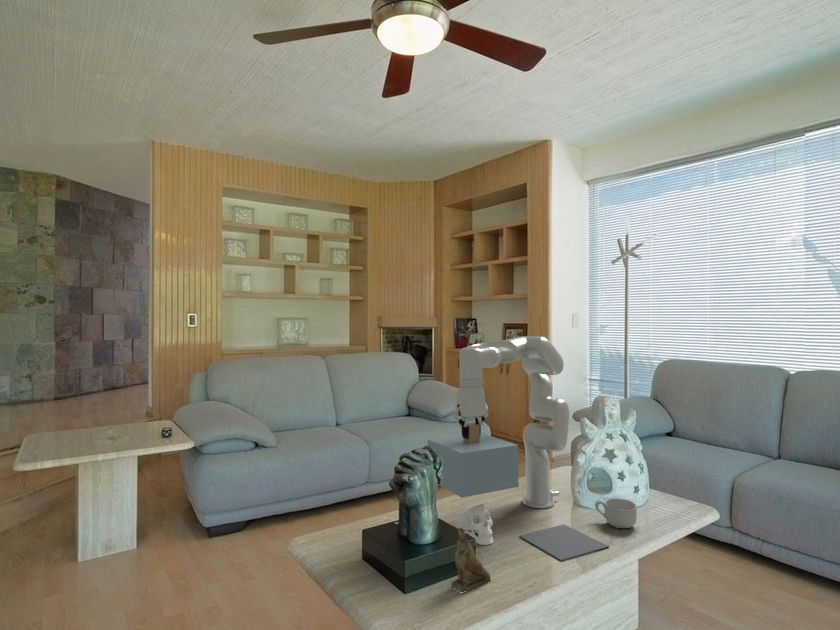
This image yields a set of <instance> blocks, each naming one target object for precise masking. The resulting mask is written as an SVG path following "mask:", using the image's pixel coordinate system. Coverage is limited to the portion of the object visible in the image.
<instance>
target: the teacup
mask: <svg viewBox="0 0 840 630" xmlns="http://www.w3.org/2000/svg"><path fill="white" fill-rule="evenodd" d="M594 505H595V510H596V511H597V512H598V513H600V515H602V516H603V518H604V519H606V522H607V523H608V524H609V525H611V526H612V527H613V526H614V528H615V527H618V528H629V529H630V527H631V528H632V527H633V526H634V525H635V524H636V523H637V515H638V514H637V511H638V510H637V508H638V505H637V503H635V502H633V500H632V501H631V500H629V499H624V498H620V497H619V498H618V497H617V498H615V497H612V498H608V499H605V501H603V500H597V501H596V502H595V504H594ZM599 505H602V506H603V509H604V511H603V510H601V509H600V507H599ZM618 528H617V529H618Z"/></svg>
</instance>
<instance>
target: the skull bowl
mask: <svg viewBox="0 0 840 630" xmlns="http://www.w3.org/2000/svg"><path fill="white" fill-rule="evenodd" d="M454 523H455V525H456V527H457V530H458V529H459V528H462V529H463V531H464V532H465V533H467V534H469V535H471V536H473V537H475V539H476V542H477V543H476V544H478V545H480V546H489V545H492V544H494V538H493V537H494V536H493V530H492V529H491V528H492V526H493V524H494V523H493V520H492V517H491V514H490V512H489V510H488V508H487V507H486V505H485V504H478V505H475V506H473V507H471V508H469V509H467V510H466V511H465V512H463V513H462V514H461V515H459V516H457V518H456V519H455V522H454ZM476 534H477V535H476ZM469 535H468V536H469Z"/></svg>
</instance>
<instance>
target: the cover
mask: <svg viewBox="0 0 840 630" xmlns="http://www.w3.org/2000/svg"><path fill="white" fill-rule="evenodd" d="M467 427H468V428H469V438H468V439H466V438H463V437H462V434H460V435H459V434H458V435H451V436H444V437H434V438H429V439H427V447H428V446H430V447H432V448H433V449H435V450H436V451H438V452H439V453H440V454H441V455H442V458H443V480H442V482H441V483H440V484H439V485H438V486H440V487H442V488H444V489H445V490H446V491H448V492H451V493H453V494H454V495H456V496H458V497H460V498H461V499H462V498H468V497H472V496H479V495H483V494H488V493H494V492H499V491H504V490H508V489H509V490H510V489H514V488H519V445H518V444H516V443H513V442H510V441H507V440H503V439H501V438H498V437H495V436H492V435H488V434H485V433H482V432H481V434H480V425H478V424H475V422H470V423H469V422H468V424H467Z"/></svg>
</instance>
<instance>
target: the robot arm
mask: <svg viewBox="0 0 840 630" xmlns="http://www.w3.org/2000/svg"><path fill="white" fill-rule="evenodd" d="M520 360H521V366H522V369H523V370H524V372H525V373H526V374H527V376H528V379H529V382H530V396H529V397H530V399H529V406H528V407H529V409H528V413H529V416H530V417H531V418H532V419H534V420H537V421H543V422H548V423H551V424H552V425H549V424H544V423H543V424H542V423H537V422H536V423H535V422H534V423H533V422H532V423H528V424H526V425H525V426H524V427H523V431H522V439H523V441H522V442H523V444H524V452H525V496H524V497H523V498H522V499H521V501H522V504H523V505H524V506H526V507H529V508H533V509H548V508H549V509H550V508H552V507H554V506H555V500H554V499H553V498H555V497H558V496H560V492H559V490H555V491H554V490H552V489H551V459H550V456H549V453H548V451H552V452H562V451H564V450H565V449H566V446H567V443H568V435H569V422H570V421H569V420H570V408H569V405H568V402H567V401H566V400H564V399H563V398H562V399H561V398H558V397H553V383H552V382H553V381H552V380H551V378H550V377H549V376H557V375H560V374H561V373H562V372H563V370H564V367H565V366H564V359H563V357H562V355H561V354H560V352H559V351H558V350H557V349H556V347H555V346H554V344H553V343H552V342H551V341H550V340H549V339H547V338H546V337H545V336H539V335H538V336H535V335H534V336H531V335H530V336H529V335H526V336H525V335H524V336H518V337H514V338H509V339H501V340H495V341H490V342H489V341H488V342H482V343H475V344H470V345H468V346H466V347H462V348H460V350H459V387H457V389H456V395H455V402H454V403H455V404H454V405H455V406H454V414H453V416H452V419H453V420H455V421H456V422H457V423H458V424H459V426H461V435H462V437H463V438H466V439H468V438H469V428H468V427H467V424H468V423H469V418H473V419H474V423H475V424H478V425H480V434H481V433H482V432H481V431H482V430H481V429H482V427H481V426H482V425H483V422H484V421H485V420H486V418H488V417H489V415H490V414H489V412H488V410H487V406H486V405H487V404H486V395H485V390H484V387H483V384H484V383H485V380H484V379H483V377H482V376H483V373H482V372H483V371H482V368H483V369H484V368H487V369H488V368H489V369H490V368H491V369H493V368H496V367H497V366H498V365H499V364H500V363H501V364H504V363H505V364H507V363H513V362H516V361H520Z"/></svg>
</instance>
